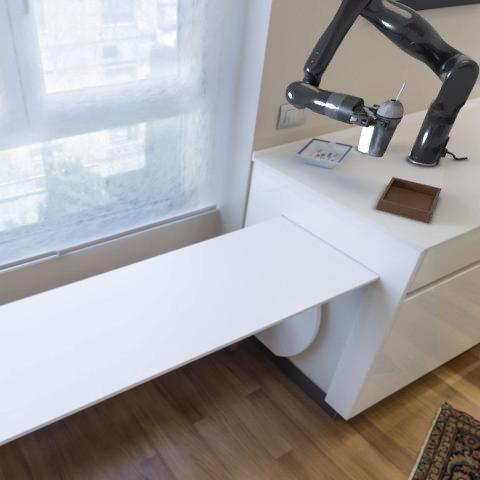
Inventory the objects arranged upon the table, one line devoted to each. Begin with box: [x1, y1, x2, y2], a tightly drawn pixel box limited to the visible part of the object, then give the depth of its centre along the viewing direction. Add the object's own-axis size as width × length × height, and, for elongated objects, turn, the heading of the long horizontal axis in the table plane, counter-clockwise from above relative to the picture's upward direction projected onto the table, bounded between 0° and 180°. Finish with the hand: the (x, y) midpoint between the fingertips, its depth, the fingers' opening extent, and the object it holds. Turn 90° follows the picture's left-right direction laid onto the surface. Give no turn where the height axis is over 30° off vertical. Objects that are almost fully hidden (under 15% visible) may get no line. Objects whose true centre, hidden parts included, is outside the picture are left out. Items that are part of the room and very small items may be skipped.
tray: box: [375, 176, 442, 224], centre depth 134 cm, size 19×15×3 cm
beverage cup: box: [367, 82, 407, 158], centre depth 128 cm, size 7×7×20 cm
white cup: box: [357, 126, 374, 154], centre depth 162 cm, size 8×8×10 cm
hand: (394, 122), depth 126 cm, fingers closed on beverage cup, 7 cm apart
